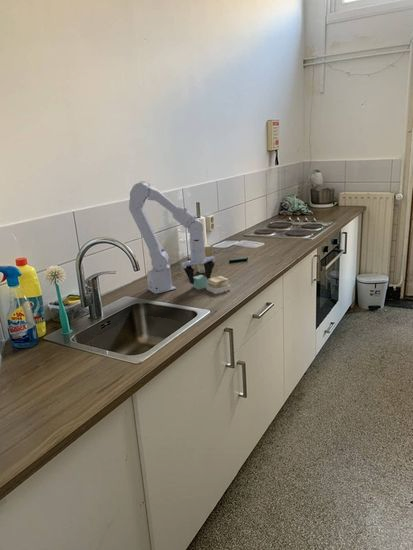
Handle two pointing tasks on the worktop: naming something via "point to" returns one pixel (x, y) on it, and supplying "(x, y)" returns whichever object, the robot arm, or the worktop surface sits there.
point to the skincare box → (207, 254)
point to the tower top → (218, 281)
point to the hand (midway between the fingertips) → (200, 281)
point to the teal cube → (200, 282)
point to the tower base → (217, 289)
